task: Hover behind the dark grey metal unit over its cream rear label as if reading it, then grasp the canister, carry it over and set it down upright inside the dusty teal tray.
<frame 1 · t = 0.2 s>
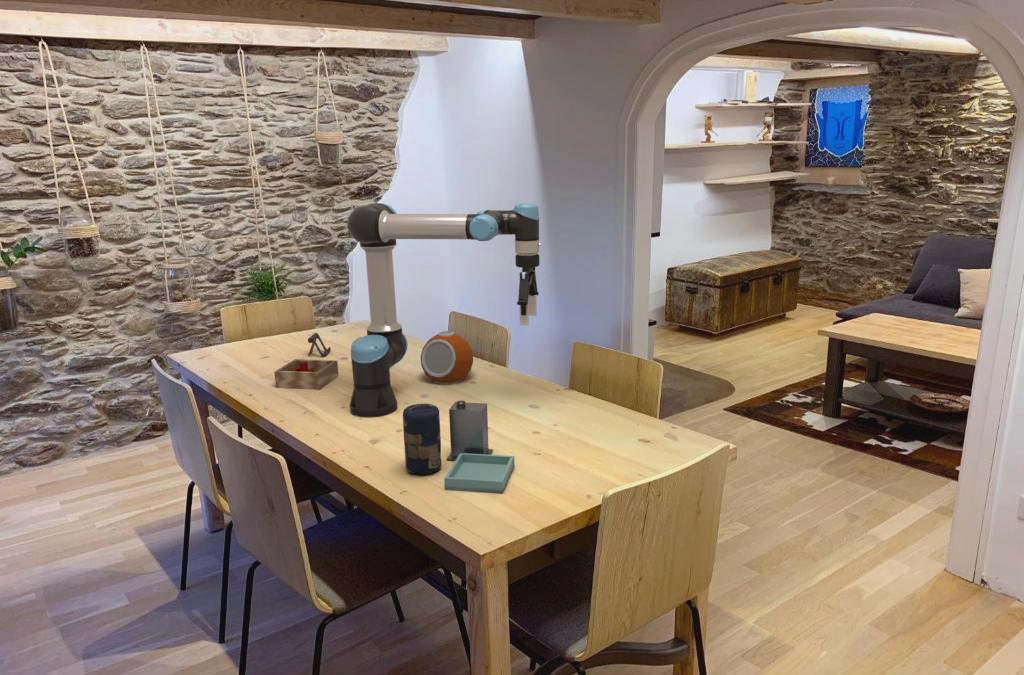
hand: (528, 320, 237), 28 cm above the table, fingers open, 13 cm apart
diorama: (309, 382, 272), on the table
unit: (470, 455, 203), on the table
canister: (424, 469, 196), on the table
tray: (480, 477, 190), on the table
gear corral: (307, 381, 271), on the table
portable electronic device stand: (318, 355, 307), on the table
alarm clock: (447, 379, 272), on the table
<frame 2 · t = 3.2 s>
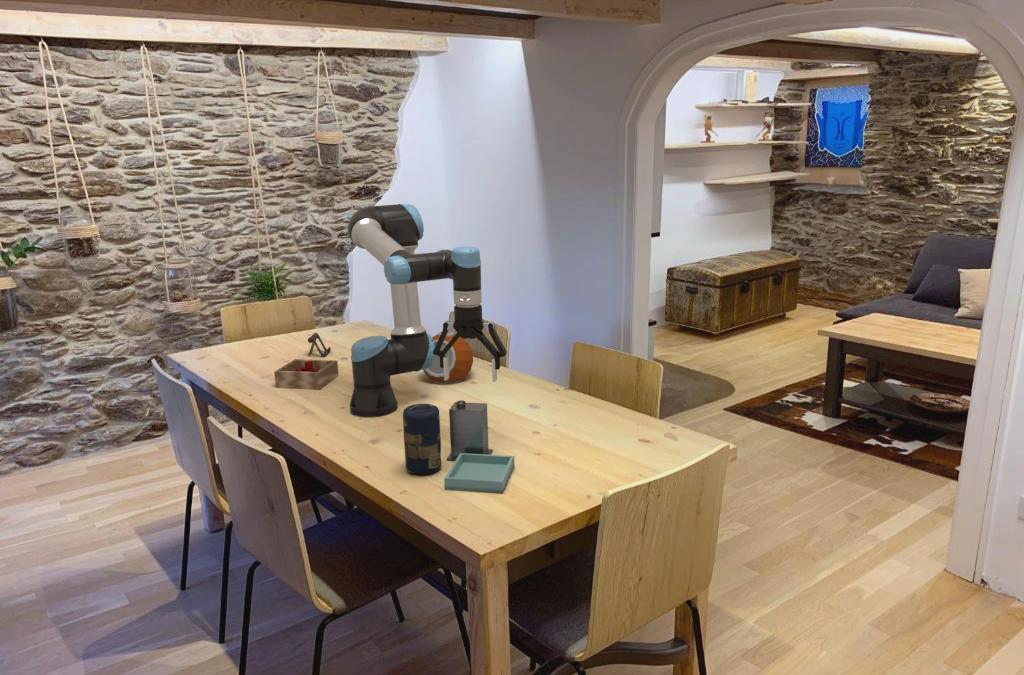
hand: (470, 379, 206), 19 cm above the table, fingers open, 13 cm apart
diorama: (314, 382, 272), on the table
everything else where it was.
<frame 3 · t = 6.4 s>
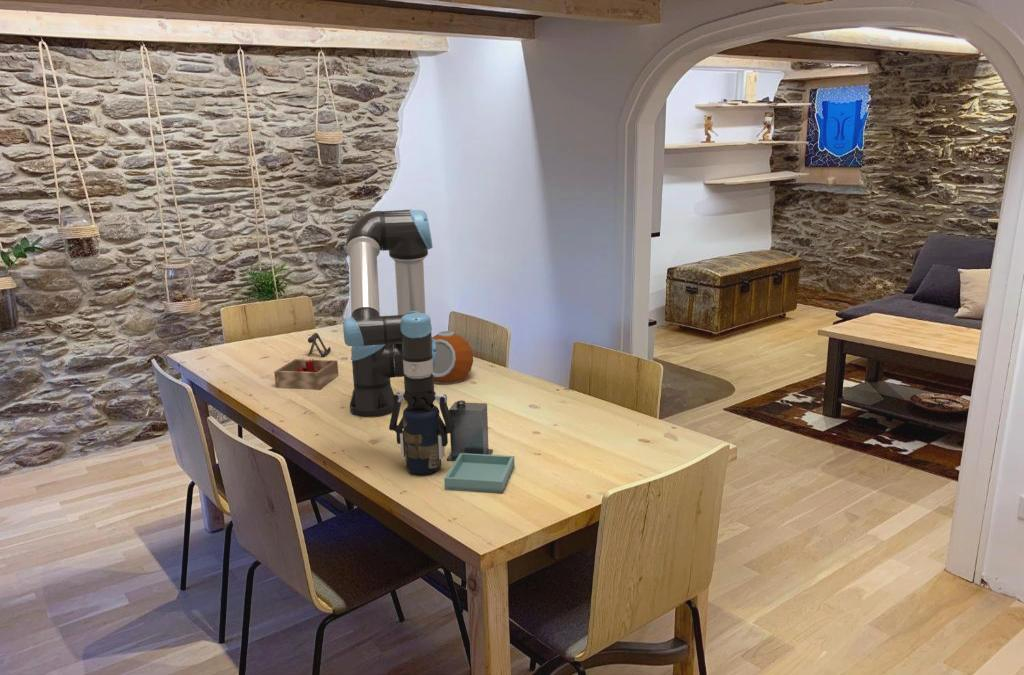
hand: (423, 456, 195), 4 cm above the table, fingers closed on canister, 10 cm apart
canister: (424, 469, 196), on the table, touching gripper
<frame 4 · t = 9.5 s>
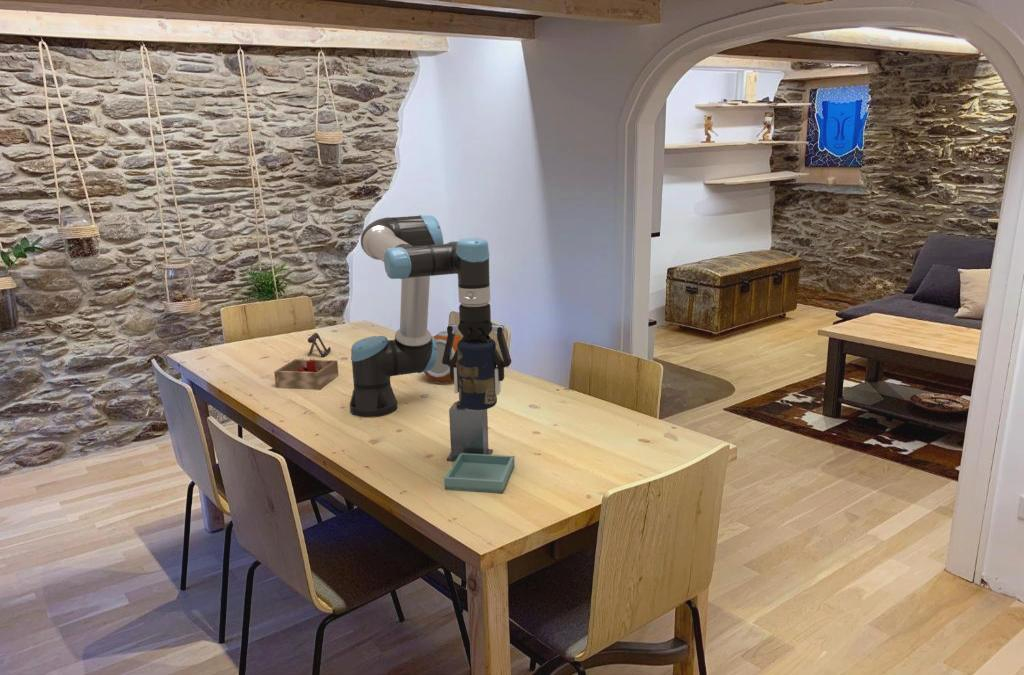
hand: (477, 392, 184), 23 cm above the table, fingers closed on canister, 10 cm apart
canister: (478, 406, 185), point 19 cm above the table, touching gripper
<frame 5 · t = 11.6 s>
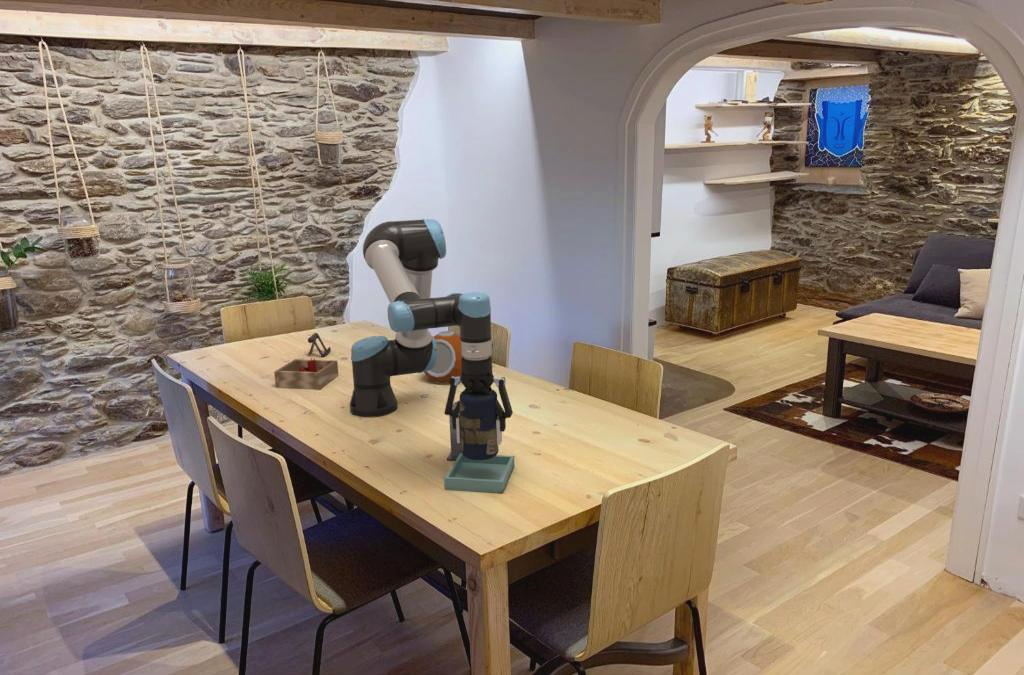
hand: (479, 441, 187), 10 cm above the table, fingers closed on canister, 10 cm apart
canister: (480, 456, 188), point 6 cm above the table, touching gripper
when the fingers open (6 cm above the table, at t = 13.0 s): canister drops 1 cm, resting on tray.
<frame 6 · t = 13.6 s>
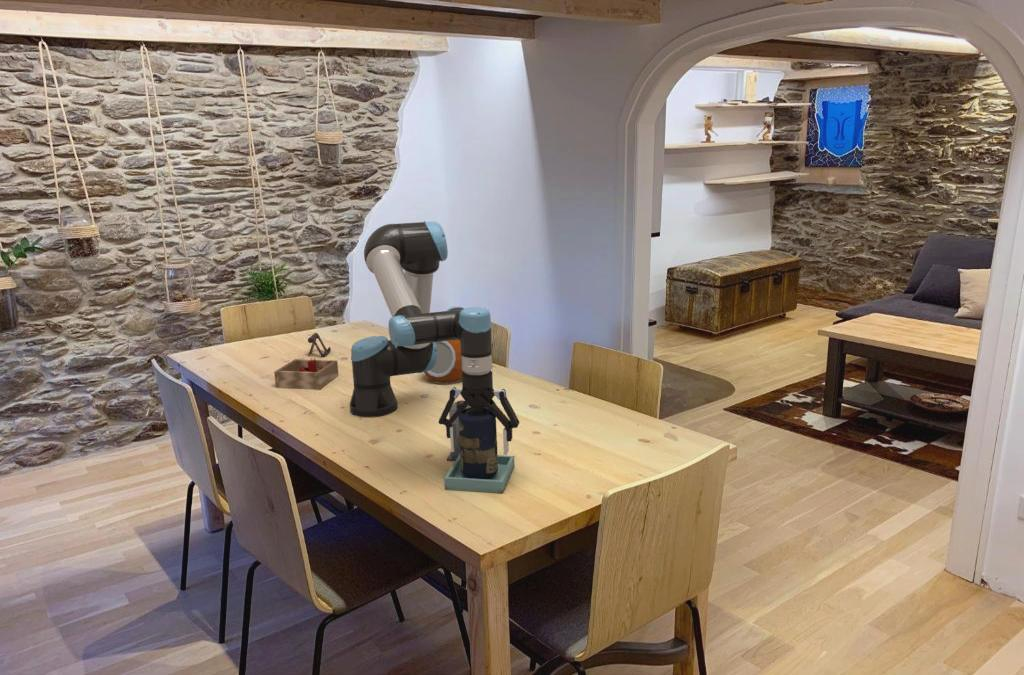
hand: (479, 451, 188), 7 cm above the table, fingers open, 13 cm apart
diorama: (317, 381, 273), on the table, touching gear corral
canister: (480, 475, 190), point 1 cm above the table, touching tray
everything else where it was.
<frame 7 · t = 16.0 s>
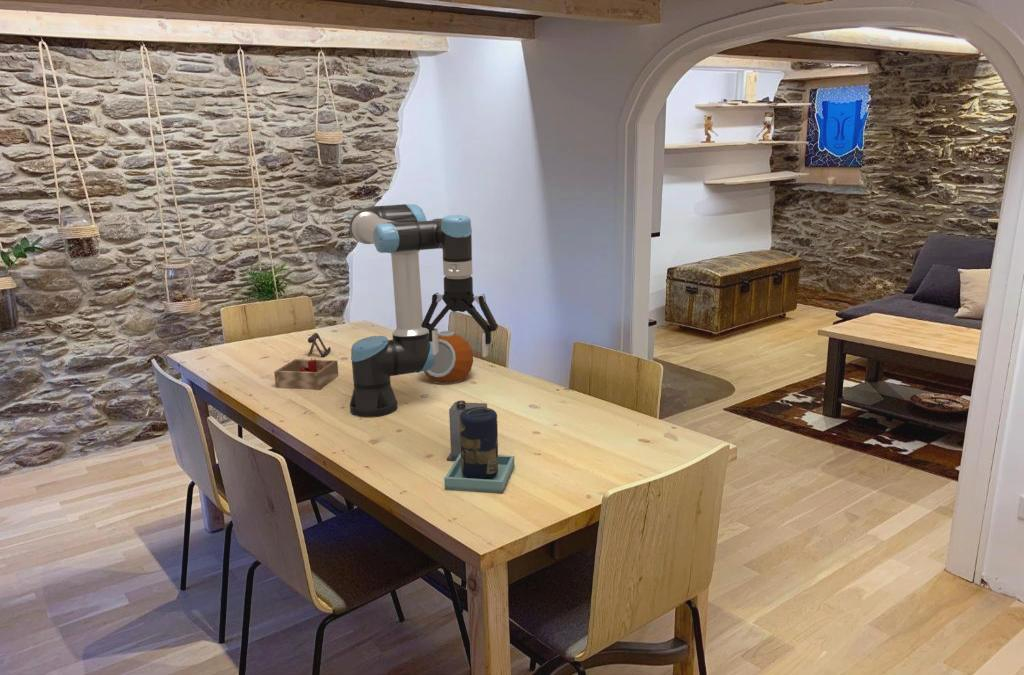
hand: (460, 354, 199), 28 cm above the table, fingers open, 13 cm apart
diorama: (317, 381, 273), on the table
everything else where it was.
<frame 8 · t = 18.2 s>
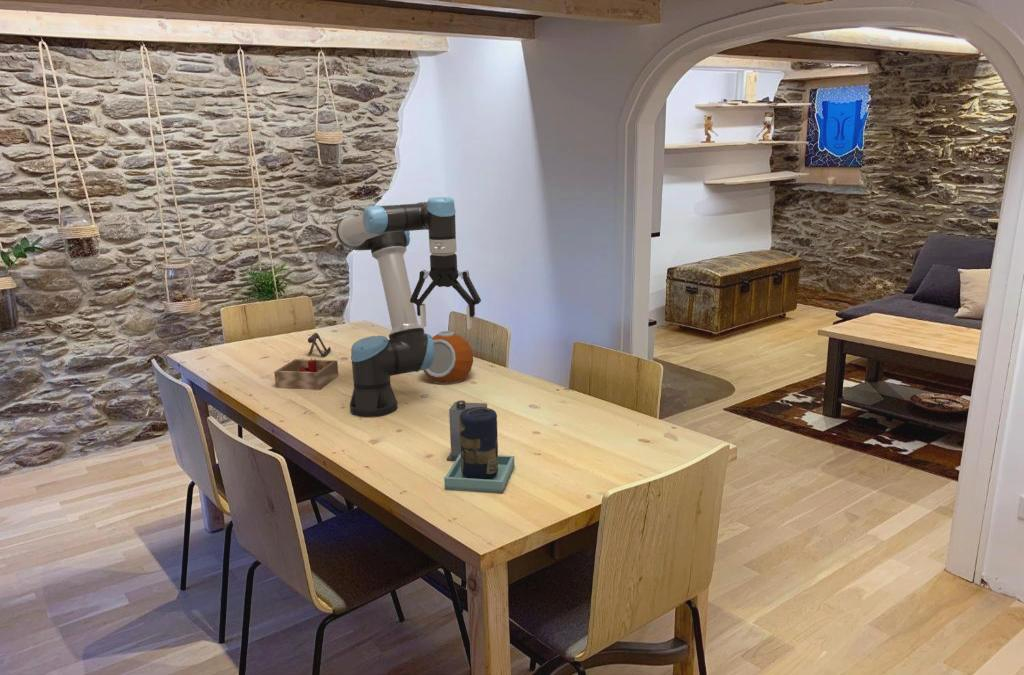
hand: (446, 327, 213), 32 cm above the table, fingers open, 13 cm apart
nothing on the table moved.
at the end: canister inside the target area on the tray (0.1 cm from its centre), point 0.6 cm above the tray's base; canister tilted 0°; the gripper is holding nothing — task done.
